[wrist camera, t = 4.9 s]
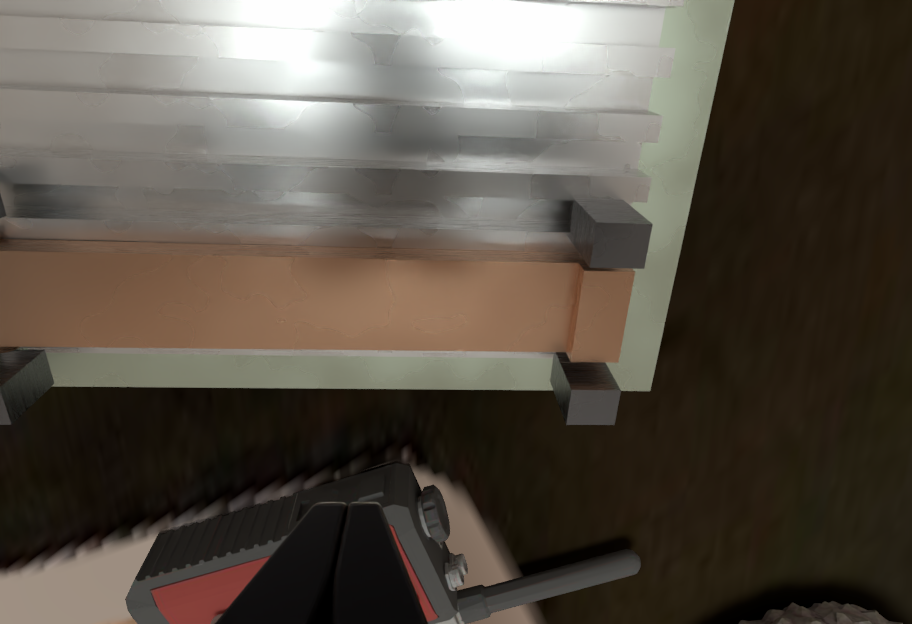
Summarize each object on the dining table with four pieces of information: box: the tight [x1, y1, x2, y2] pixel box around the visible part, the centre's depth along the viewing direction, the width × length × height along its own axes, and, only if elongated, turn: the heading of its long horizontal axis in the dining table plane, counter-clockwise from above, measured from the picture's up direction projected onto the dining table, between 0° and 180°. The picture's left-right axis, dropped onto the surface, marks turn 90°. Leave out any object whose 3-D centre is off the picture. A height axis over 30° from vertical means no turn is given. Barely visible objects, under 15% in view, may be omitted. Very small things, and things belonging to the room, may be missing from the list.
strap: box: [0, 239, 635, 363], centre depth 14 cm, size 15×3×1 cm, turn 87°
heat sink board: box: [0, 0, 735, 425], centre depth 14 cm, size 22×22×7 cm
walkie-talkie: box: [125, 463, 641, 624], centre depth 23 cm, size 9×4×20 cm
